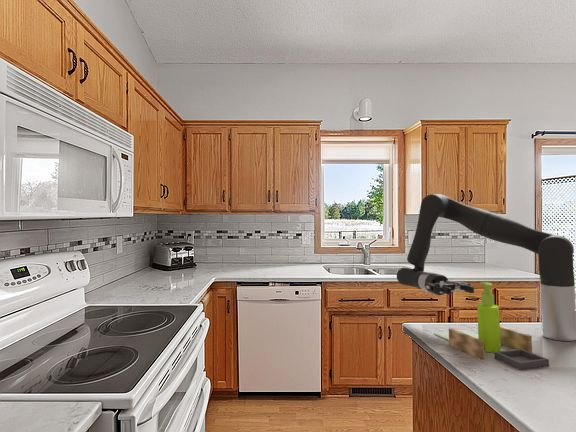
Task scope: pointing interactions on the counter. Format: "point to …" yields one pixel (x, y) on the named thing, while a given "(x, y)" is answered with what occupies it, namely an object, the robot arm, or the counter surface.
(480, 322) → the soap dispenser
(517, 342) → the oak channel
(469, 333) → the mat
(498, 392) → the counter surface
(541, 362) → the pit tray
